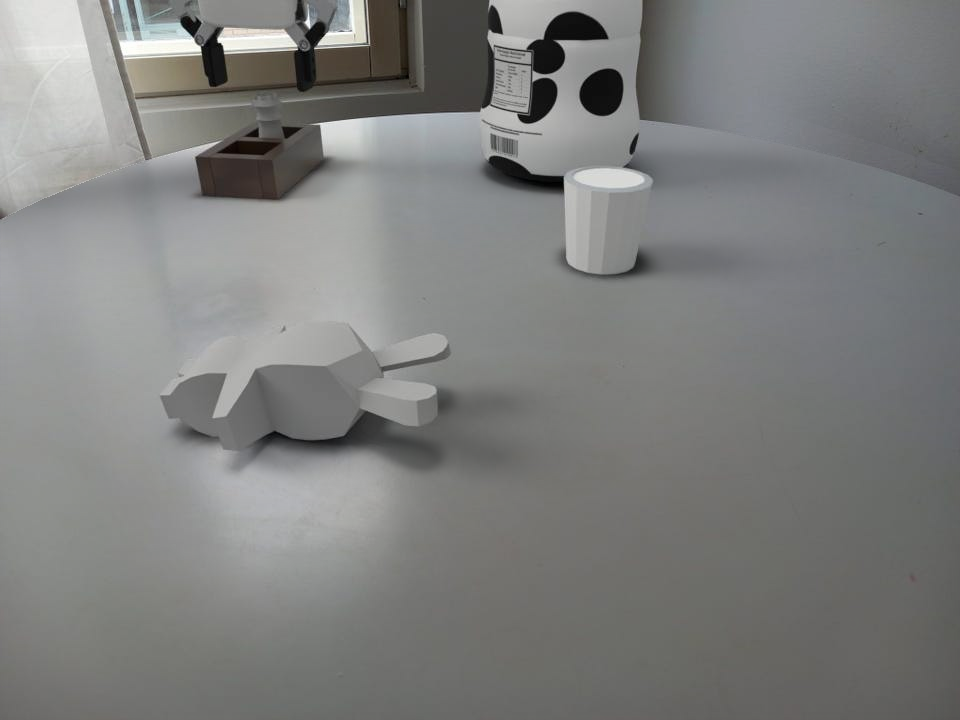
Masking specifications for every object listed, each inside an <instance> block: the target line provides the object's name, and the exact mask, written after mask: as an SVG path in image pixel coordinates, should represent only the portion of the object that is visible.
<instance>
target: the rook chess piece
mask: <svg viewBox="0 0 960 720" xmlns="http://www.w3.org/2000/svg"><path fill="white" fill-rule="evenodd" d="M260 93H261V95H260ZM260 93H259V92H256V93H255V92H254V94H253V100H252V102H251V106H252V107H253V108H254V109H255V110H256V117H255V120H256V122H258V125H259V138H282V139H285V137H284V134H283V130H282V126H281V123H282V119H283V116H282V115H281V114H280V108H281V106H282V105H283V101H282V100H281V99H280V98H279V93H278V92H275V91H269V95H267V92H266V91H261V92H260Z"/></svg>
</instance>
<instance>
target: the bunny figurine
mask: <svg viewBox="0 0 960 720" xmlns="http://www.w3.org/2000/svg"><path fill="white" fill-rule="evenodd" d="M451 355H452V350H451V347H450V343H449V341H448V339H447V338H446V336H445V335H444V334H440V333H437V332H432V333H427V334H423V335H419V336H416V337H412V338H410V339H406V340H403V341H399V342H397V343H394V344H391V345H388V346H385V347H382V348H379V349H376V350H371V348H369V346H368V345H367V344H366V343H365V342H364V340H363V339H362V338H361V337H360V336H359V335H358V333H357V332H356V331H355V330H354V328H353V327H352V326H351V325H350V324H349V322H347V321H346V322H345V321H344V322H343V321H335V320H333V321H332V320H326V321H324V320H322V321H310V322H304V323H301V324H300V323H299V324H296V325H292V326H291V327H289V328H286V325H285V324H284V325H280V326H277V327H272V328H271V329H269V330H267V331H266V332H264V333H263V334H261V335H260V336H258V337H256V338H255V339H253V340H251V341H248V340H245V339H243V338H241V337H239V336H236V335H230V336H222V337H220V338H218V339H217V340H215V341H213V342H212V343H210V344H209V345H208V346H207V347H206V349H205V350H204V351H203V352H202V354H201V355H200V356H199V357H191V358H189V359H187V361H186V362H185V363H184V365H183V366H181V368H180V370H179V371H178V372H177V376H178V377H176V378H172V379H171V381H170V382H169V383H168V384H167V385H166V387H165V388H164V389H163V390H162V391H161V393H160V394H159V398H160V401H161V403H162V406H163V408H164V411H165V413H166V415H167V418H168V419H170V420H175V419H177V420H181V421H182V422H183V423H185V424H186V425H187V426H189V427H190V428H192V429H193V430H195V431H196V432H198V433H201V434H204V435H207V436H209V437H212V438H217V437H218V439H219V441H220V444H221V447H222V450H226V451H233V452H240V451H241V450H244V449H245V448H247V447H248V446H250V445H251V444H254V443H255V442H257V441H258V440H260V439H262V438H263V437H265V436H267V435H268V434H271V433H273V432H277V433H278V434H279V433H280V434H282V435H283V436H286V437H288V438H290V439H293V440H294V439H296V440H302V441H303V440H304V441H320V440H330V439H335V438H341V437H344V436H345V435H346V434H347V433H348V432H349V431H350V430H351V429H352V427H353V426H354V425H355V424H356V423H357V421H358V420H359V419H361V417H362V416H363V415H364V414H365V413H366V411H367V412H369V413H371V414H373V415H376V416H380V417H382V418H385V419H387V420H390V421H392V422H395V423H397V424H401V425H403V426H405V427H406V426H410V427H422V426H425V425H427V424H430V423H432V422H433V421H434V420H435V419H436V418H437V417H438V415H439V403H438V392H437V390H438V389H437V388H436V386H434V385H432V384H429V383H424V382H419V381H418V382H416V381H410V380H409V381H408V380H400V379H391V378H384V377H385V376H384V375H385V374H384V372H388V371H395V370H400V369H404V368H405V369H406V368H409V367H415V366H420V365H421V366H422V365H426V364H431V363H432V364H433V363H437V362H440V361H443V360H447V359H448V358H449V357H450V356H451Z"/></svg>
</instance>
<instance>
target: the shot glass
mask: <svg viewBox="0 0 960 720" xmlns="http://www.w3.org/2000/svg"><path fill="white" fill-rule="evenodd" d="M653 184H654V179H653V178H652V177H651V176H650V175H649V174H647V173H644V172H642V171H640V170H636V169H633V168H628V167H625V168H623V167H612V166H590V167H583V168H577V169H574V170H572V171H569V172H567V174H566V175H565V176H564V182H563V188H564V189H563V190H564V191H563V193H564V223H565V225H564V227H565V230H564V231H565V254H566V255H565V257H566V258H565V259H566V261H567V264H568V265H569V266H571V267H572V268H574V269H575V270H578V271H581V272H584V273H587V274H594V275H617V274H621V273H627V272H629V271H630V270H631V269H633V268H634V267H635V264H636V261H637V257H638V256H637V255H638V252H639V246H640V242H641V237H642V233H643V228H644V224H645V219H646V215H647V210H648V206H649V202H650V197H651V191H652V189H653V188H652V187H653Z"/></svg>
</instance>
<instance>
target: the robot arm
mask: <svg viewBox="0 0 960 720" xmlns="http://www.w3.org/2000/svg"><path fill="white" fill-rule="evenodd" d="M192 2H195V0H168V4H169V6H170V7H171V9H172V11H173V12H174V15H175V16H176V17H177V19H179V23H180V26H181V27H182V28H183V29H184V30H185V31H186V32H187V33H188V34H189V36H191V37H192V38H193V41H194V43H195V45H197V46H198V47H200V53H201V59H202V64H203V71H204V75H205V77H206V78H207V80H208V86H209V87H210V88H217V87H219V86H222V85H224V84H226V83H228V82H229V78H228V71H227V64H226V55H225V50H224V45H223V44H222V42H219V40H218V39H219V37H220V36H221V34H222V33H223V32H224V31H223V30H224V29H227V28H228V29H245V30H246V29H248V30H249V29H250V30H270V31H273V30H275V31H279V30H280V31H282V30H284V31H285V32H286V34H287V35H288V36H289V38H291V40H292V41H293V42H294V43H295V45H296V46H297V50H295V51H294V52H293V59H294V69H295V80H296V81H295V82H296V89H297V91H299V93H306V92H308V91H310V90H311V89H312V88H314V84H315V83H316V82H317V77H318V76H317V64H316V63H317V62H316V53H315V52H316V51H315V48H317V47H318V45H319V43H320V42H321V41H322V39H323V38H324V37H325V36H326V35H327V34H328V33H329V31H330V28H331V24H332V22H333V20H334V18H335V14H336V12H337V9H338V5H337V3H336V2H335V1H333V0H197V4H198V5H197V6H198V9H199V10H198V11H199V14H200V17H201V19H202V21H201V20H200V19H199V18H198V17H197V16H196V15H194V12H193V10H192V8H191V4H192ZM309 6H310V7H313V8H314V9H315V10H316V11H317V16H316V19H315V23H313V25H312V26H311V27H309V26H308V25H307V24H306V22H307V20H308V19H309V18H308V17H309Z"/></svg>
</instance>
